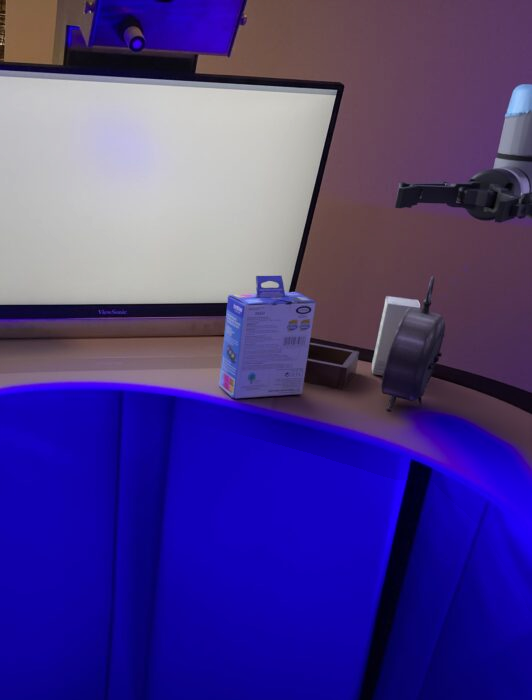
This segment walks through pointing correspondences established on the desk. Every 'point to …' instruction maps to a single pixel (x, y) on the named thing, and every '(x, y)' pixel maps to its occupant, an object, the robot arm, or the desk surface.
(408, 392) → the alarm clock
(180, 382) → the desk surface
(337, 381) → the holder
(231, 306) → the ink cartridge box
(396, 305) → the white box
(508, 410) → the desk surface
